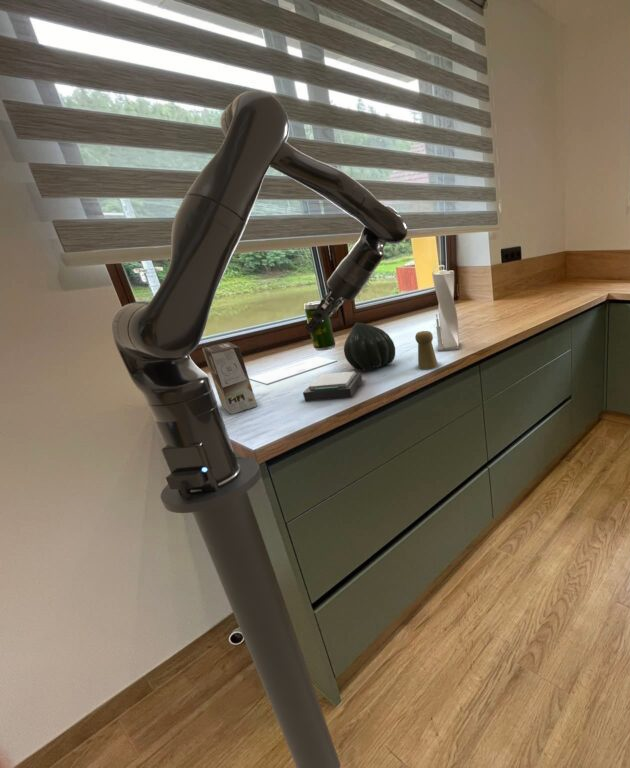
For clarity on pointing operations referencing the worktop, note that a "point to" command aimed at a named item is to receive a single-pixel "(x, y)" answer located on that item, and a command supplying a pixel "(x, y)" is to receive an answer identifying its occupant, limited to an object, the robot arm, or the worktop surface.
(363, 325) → the squash
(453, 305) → the skyscraper
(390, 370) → the worktop surface
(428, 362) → the cork
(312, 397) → the scale
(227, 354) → the coffee box
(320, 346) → the beer can
